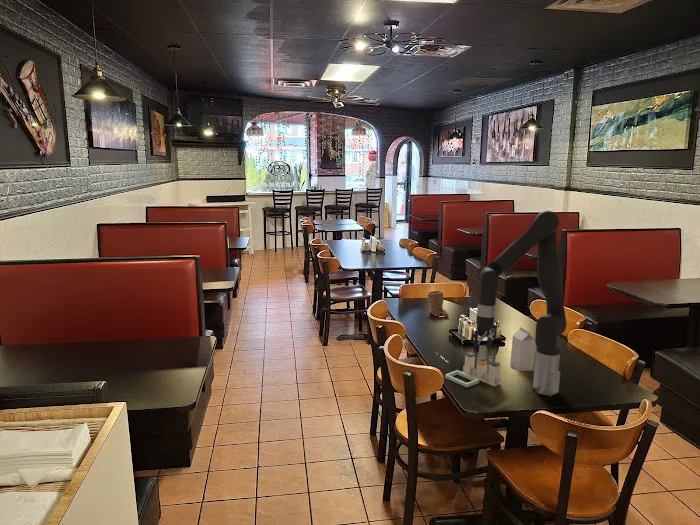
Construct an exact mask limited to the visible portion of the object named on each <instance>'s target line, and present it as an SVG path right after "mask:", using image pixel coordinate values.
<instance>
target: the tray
mask: <svg viewBox="0 0 700 525" xmlns="http://www.w3.org/2000/svg"><path fill="white" fill-rule="evenodd" d="M457 375H458V376H460V377H462V378H465V379H466V380H469V382H465V381H463V380H461V379H459V378H456V377H455V376H457ZM444 378H445V379H446V380H448V381H451V382H453V383H456V384H458V385H461V386H463V387H464V388H469V387H472V386H475V385H477V384H479V383H480V380H479V379H477V378H475V377H472V376H470V375H468V374H465V373H463V371H460V370H458V369H456V370H454V371H451V372H449V373H445V374H444Z"/></svg>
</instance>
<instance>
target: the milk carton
mask: <svg viewBox="0 0 700 525" xmlns="http://www.w3.org/2000/svg"><path fill="white" fill-rule="evenodd" d="M531 334H532V333H531V332H530V331H529V330H527V329H525V328H523V327H521V326H519V329H518V330H517V331H516V332H515V333H514V334H513V335H512V338H511V339H512V340H511V341H512V342H511V349H510V350H511V351H510V352H511V353H510V364H509V366H510V367H511V368H513V369H514V370H516V371H518V372H528V371H533V366H534V364H533V363H534V353H535V346H536V343H535V338H534V337H533V336H532V335H531Z"/></svg>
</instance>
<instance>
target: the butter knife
mask: <svg viewBox="0 0 700 525" xmlns="http://www.w3.org/2000/svg"><path fill="white" fill-rule="evenodd" d="M437 355H438V354H437ZM437 355H436V356H437ZM440 357H441V358H442V360H443V359H444V360H445V359H446V358H444V357H443V356H442V355H441V356H440ZM440 357H439V358H440ZM441 358H440V359H441ZM444 360H443V361H444ZM444 362H446V363H447V364H448V363H449V361H448V360H447V359H446V360H445V361H444Z"/></svg>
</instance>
